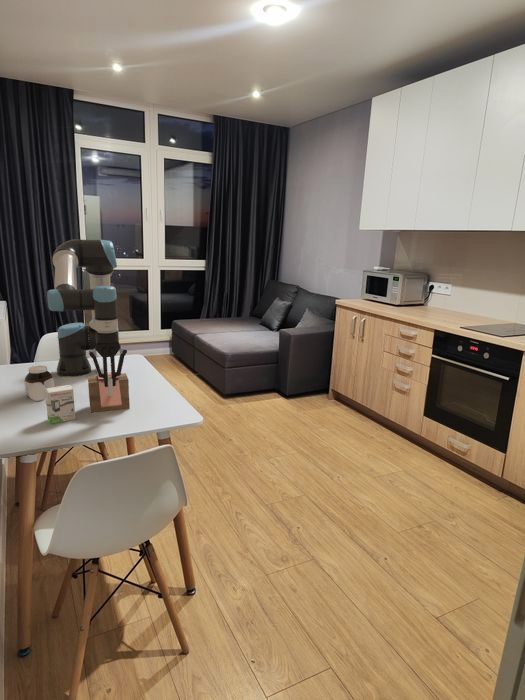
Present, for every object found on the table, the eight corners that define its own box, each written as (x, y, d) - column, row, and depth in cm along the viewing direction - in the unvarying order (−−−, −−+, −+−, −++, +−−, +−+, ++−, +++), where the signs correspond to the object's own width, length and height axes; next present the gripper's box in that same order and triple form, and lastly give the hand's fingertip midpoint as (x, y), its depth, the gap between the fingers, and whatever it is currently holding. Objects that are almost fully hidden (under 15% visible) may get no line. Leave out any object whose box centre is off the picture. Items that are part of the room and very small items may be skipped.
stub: (98, 382, 161) (98, 381, 160) (118, 380, 164) (118, 379, 163) (101, 407, 157) (101, 406, 156) (121, 405, 159) (121, 404, 158)
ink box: (50, 424, 153) (47, 392, 150) (47, 419, 156) (44, 388, 153) (76, 419, 157) (73, 388, 154) (73, 414, 161) (70, 384, 158)
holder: (89, 405, 170) (87, 373, 167) (127, 401, 175) (125, 370, 172) (90, 413, 163) (88, 380, 159) (129, 408, 168) (128, 376, 165)
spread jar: (47, 389, 186) (44, 363, 183) (62, 395, 180) (59, 368, 177) (18, 397, 176) (15, 369, 173) (33, 403, 170) (30, 375, 167)
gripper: (87, 334, 146) (91, 400, 152) (127, 332, 151) (130, 396, 157) (86, 329, 153) (90, 393, 159) (125, 327, 158) (128, 389, 164)
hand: (110, 394), depth 158 cm, fingers closed
